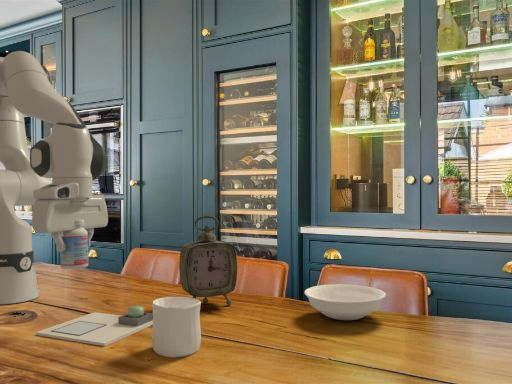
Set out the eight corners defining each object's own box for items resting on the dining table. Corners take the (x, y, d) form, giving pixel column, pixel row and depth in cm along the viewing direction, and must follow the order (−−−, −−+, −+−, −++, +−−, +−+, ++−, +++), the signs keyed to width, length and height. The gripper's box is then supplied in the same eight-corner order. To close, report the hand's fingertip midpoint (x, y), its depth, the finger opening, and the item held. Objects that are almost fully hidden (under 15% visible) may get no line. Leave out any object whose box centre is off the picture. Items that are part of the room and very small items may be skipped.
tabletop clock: (186, 312, 120) (185, 217, 120) (178, 304, 128) (176, 215, 128) (237, 306, 126) (236, 215, 126) (226, 299, 134) (225, 214, 134)
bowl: (391, 311, 118) (391, 287, 118) (378, 334, 100) (377, 305, 100) (318, 304, 127) (317, 281, 127) (293, 324, 109) (292, 297, 109)
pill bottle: (79, 269, 104) (78, 220, 104) (55, 269, 106) (54, 221, 106) (93, 265, 110) (92, 219, 110) (70, 265, 112) (69, 219, 112)
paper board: (35, 334, 103) (35, 331, 103) (94, 314, 119) (94, 311, 119) (104, 346, 95) (104, 342, 95) (157, 322, 111) (157, 319, 111)
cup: (193, 359, 87) (192, 308, 87) (143, 357, 88) (142, 306, 88) (207, 343, 96) (206, 296, 96) (161, 340, 98) (161, 295, 98)
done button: (125, 318, 109) (125, 308, 109) (134, 315, 112) (134, 305, 112) (137, 320, 108) (137, 310, 108) (146, 316, 111) (146, 306, 111)
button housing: (118, 323, 109) (118, 317, 109) (134, 317, 114) (134, 311, 114) (138, 326, 106) (138, 319, 106) (153, 319, 111) (153, 313, 111)
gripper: (94, 190, 119) (95, 244, 119) (26, 191, 100) (28, 254, 100) (113, 190, 116) (114, 244, 116) (47, 190, 97) (49, 255, 97)
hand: (74, 249), depth 108 cm, fingers closed on pill bottle, 6 cm apart
